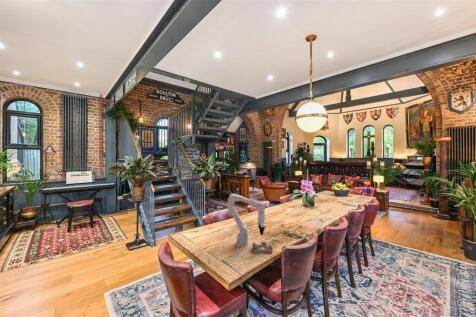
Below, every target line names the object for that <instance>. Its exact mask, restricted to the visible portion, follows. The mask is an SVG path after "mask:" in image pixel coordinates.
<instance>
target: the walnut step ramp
mask: <svg viewBox="0 0 476 317" xmlns="http://www.w3.org/2000/svg"><path fill="white" fill-rule="evenodd" d="M258 245H259V244H257V243H255V242H252V253H255V252H254V249H260V246H258Z"/></svg>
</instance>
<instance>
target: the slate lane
mask: <svg viewBox="0 0 476 317" xmlns="http://www.w3.org/2000/svg"><path fill="white" fill-rule="evenodd" d="M272 244H273V243H272V242H269V244H267V245H269V246H270V249H265V247H266V246H267V245H261V244H257V245H258V246H260V249H254V252H253V253H263V254H264V253H265V254H273V245H272Z"/></svg>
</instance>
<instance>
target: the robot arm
mask: <svg viewBox="0 0 476 317" xmlns="http://www.w3.org/2000/svg"><path fill="white" fill-rule="evenodd" d="M240 201H241V202H243V203H246V204H248V205H249V206H251V207H253V208H255V209H257V224H258V231H259V234H260V236H262V235H264V231H265V229H266V226H264V225H266V224H267V221H265V220H266V218H265V215H266V213H265V209H266V205H265V203H264V202H263V201H260V200H256V198H252V199H249V198H247V197H244V196H242V195H240V194H237V193H230V194H229V196H228V198H227V204H226V206H227V209H228V211H229V213H230V215H231V216H232V218H233V219H234V222H235V223H236V225H237V227H238V230H239V232H238V233H236V247H249V240H248V239H249V236H248V235H249V234H248V233H249V232H248V226H247V224H245V223H244V222H243V221H242V219H241V216H240V215H239V213H238V211H237V210H236V207H235V206H234V205H235V202H240Z"/></svg>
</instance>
